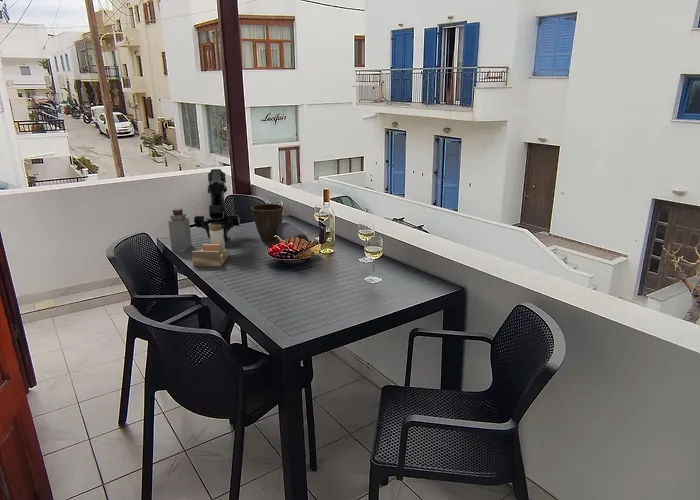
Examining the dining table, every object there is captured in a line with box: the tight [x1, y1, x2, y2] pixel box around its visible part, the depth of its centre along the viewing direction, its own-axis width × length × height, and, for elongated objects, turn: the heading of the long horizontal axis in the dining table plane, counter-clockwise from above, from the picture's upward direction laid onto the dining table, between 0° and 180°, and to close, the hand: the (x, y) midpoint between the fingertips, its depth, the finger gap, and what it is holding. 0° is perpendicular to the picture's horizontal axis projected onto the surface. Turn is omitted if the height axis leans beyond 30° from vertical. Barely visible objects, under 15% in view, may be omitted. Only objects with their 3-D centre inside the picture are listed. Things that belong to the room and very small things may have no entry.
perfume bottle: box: [167, 208, 193, 251], centre depth 210 cm, size 7×7×18 cm
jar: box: [209, 223, 226, 252], centre depth 203 cm, size 6×6×12 cm
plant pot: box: [251, 203, 284, 242], centre depth 223 cm, size 15×15×16 cm
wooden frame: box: [191, 248, 229, 267], centre depth 194 cm, size 12×11×6 cm
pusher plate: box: [201, 243, 221, 253], centre depth 195 cm, size 1×7×6 cm, turn 89°
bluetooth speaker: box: [276, 221, 310, 243], centre depth 211 cm, size 23×9×10 cm, turn 25°
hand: (216, 237), depth 201 cm, fingers closed on jar, 6 cm apart
